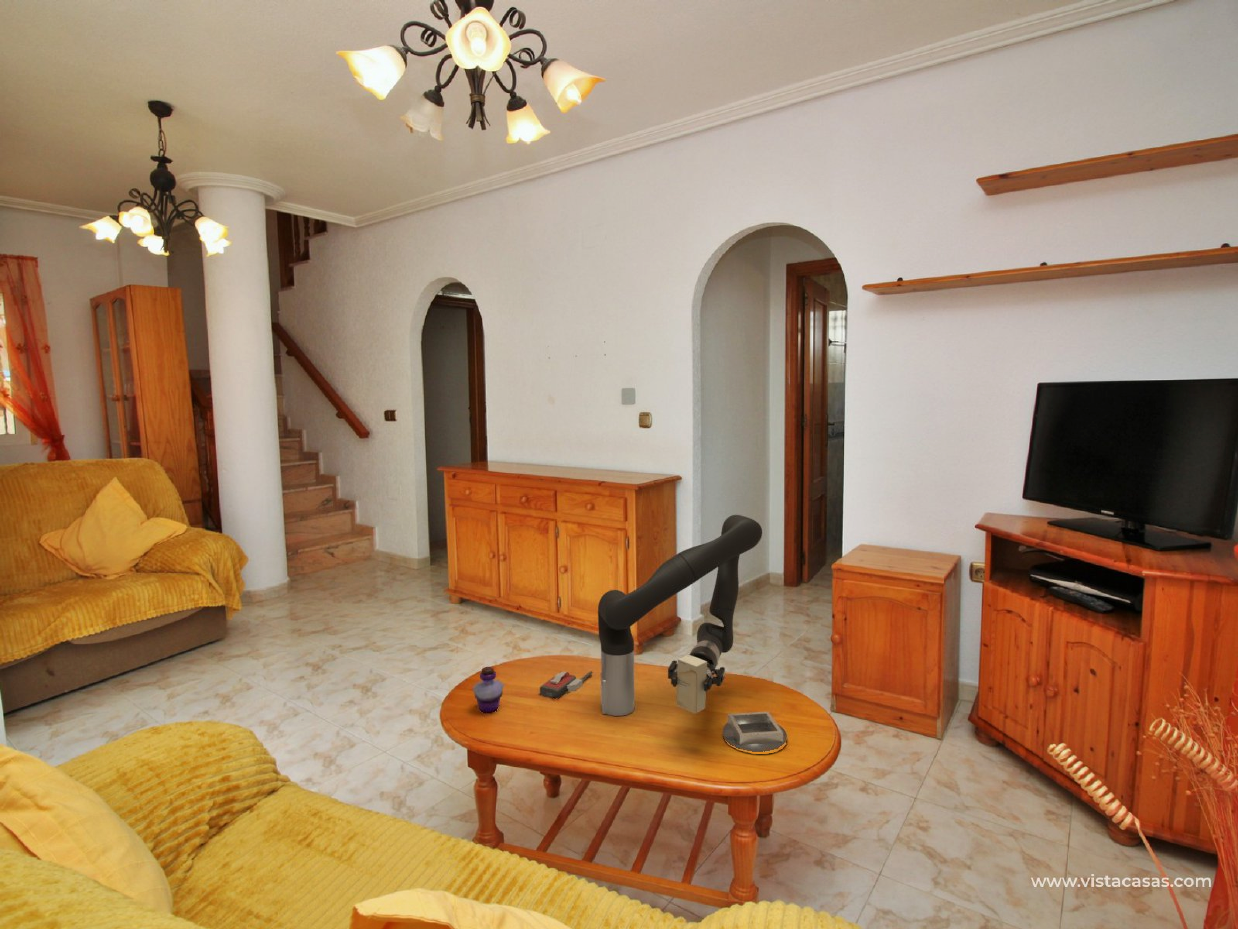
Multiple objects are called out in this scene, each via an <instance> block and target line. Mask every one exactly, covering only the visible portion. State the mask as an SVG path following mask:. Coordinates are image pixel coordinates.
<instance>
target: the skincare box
mask: <svg viewBox="0 0 1238 929" xmlns="http://www.w3.org/2000/svg"><path fill="white" fill-rule="evenodd" d="M689 654H690V653H689ZM689 654H686V655H683V656H681V657H679V658H677V663H678V668H677V686H676V696H675V697H676V701H675V702H676V703H675V704H676V706H677V707H678V708H679V707H680V708H682V709H683V710H686V711H687V712H689V713H692V714H698V713H699V712H701V711H703V710H704V709H706V699H707V698H706V694H707V692H706V691H704V682H705V680H706V675H707V661H704V660H702V659H699V658H697V657H694V656H691V655H689Z"/></svg>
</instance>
